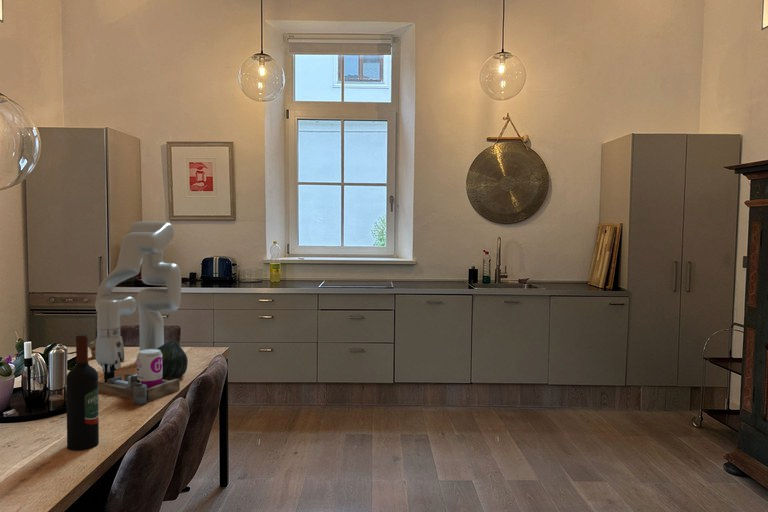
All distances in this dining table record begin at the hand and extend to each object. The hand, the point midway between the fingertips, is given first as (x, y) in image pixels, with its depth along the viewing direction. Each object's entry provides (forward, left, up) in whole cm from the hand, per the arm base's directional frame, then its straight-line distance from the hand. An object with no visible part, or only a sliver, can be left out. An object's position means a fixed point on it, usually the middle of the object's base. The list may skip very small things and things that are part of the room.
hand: (109, 381), depth 202 cm
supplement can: (0, +20, -1) cm, 20 cm away
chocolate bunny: (-26, -37, -1) cm, 45 cm away
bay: (+2, +15, -1) cm, 15 cm away
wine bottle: (+41, +39, -1) cm, 57 cm away
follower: (0, +9, -1) cm, 9 cm away
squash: (-17, +11, -1) cm, 20 cm away
